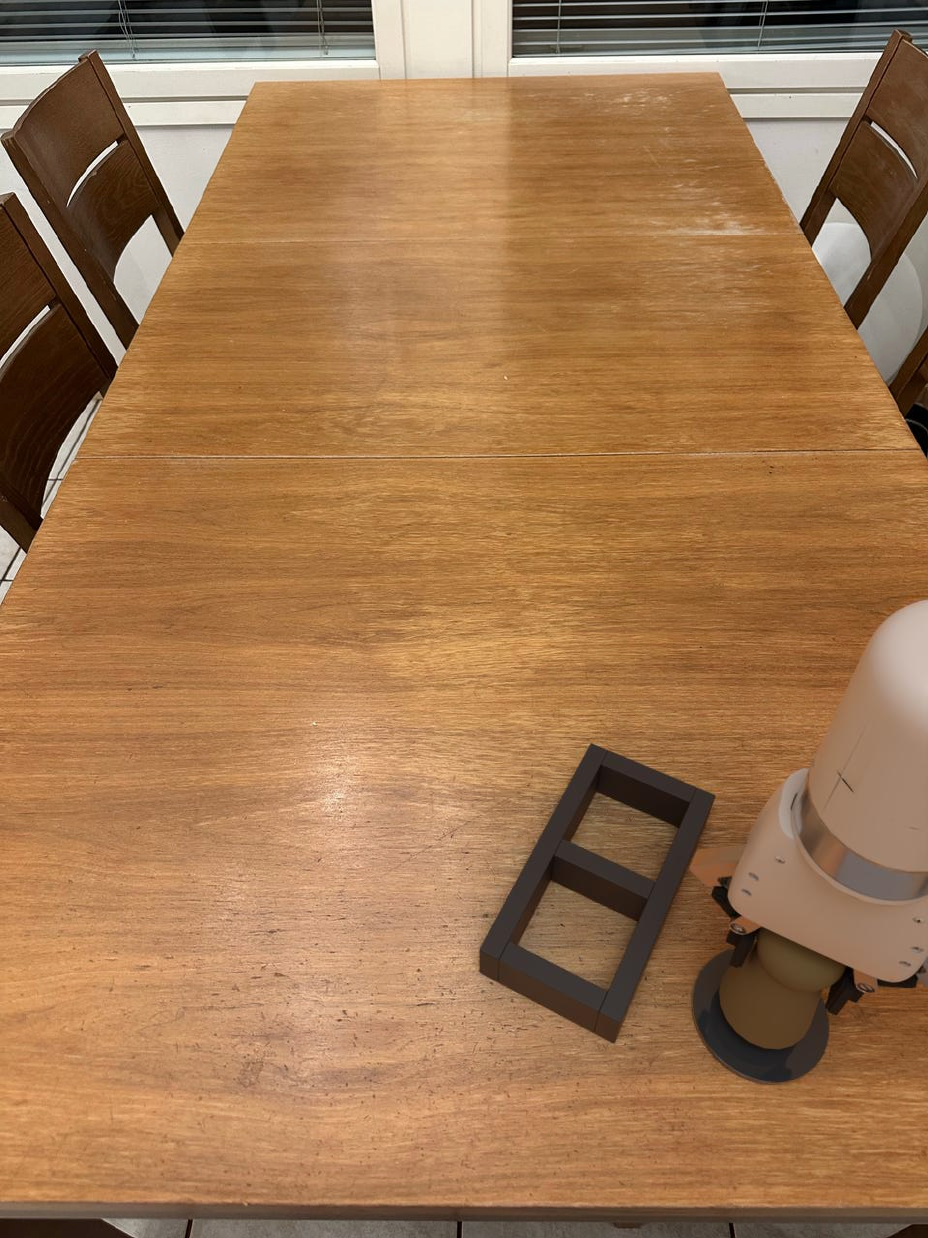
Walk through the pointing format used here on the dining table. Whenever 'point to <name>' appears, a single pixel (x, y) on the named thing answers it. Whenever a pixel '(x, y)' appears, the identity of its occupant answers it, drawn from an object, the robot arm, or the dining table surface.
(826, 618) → the dining table surface
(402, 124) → the dining table surface
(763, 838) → the robot arm
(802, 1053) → the coaster
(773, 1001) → the cork
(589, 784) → the holder
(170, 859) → the dining table surface
